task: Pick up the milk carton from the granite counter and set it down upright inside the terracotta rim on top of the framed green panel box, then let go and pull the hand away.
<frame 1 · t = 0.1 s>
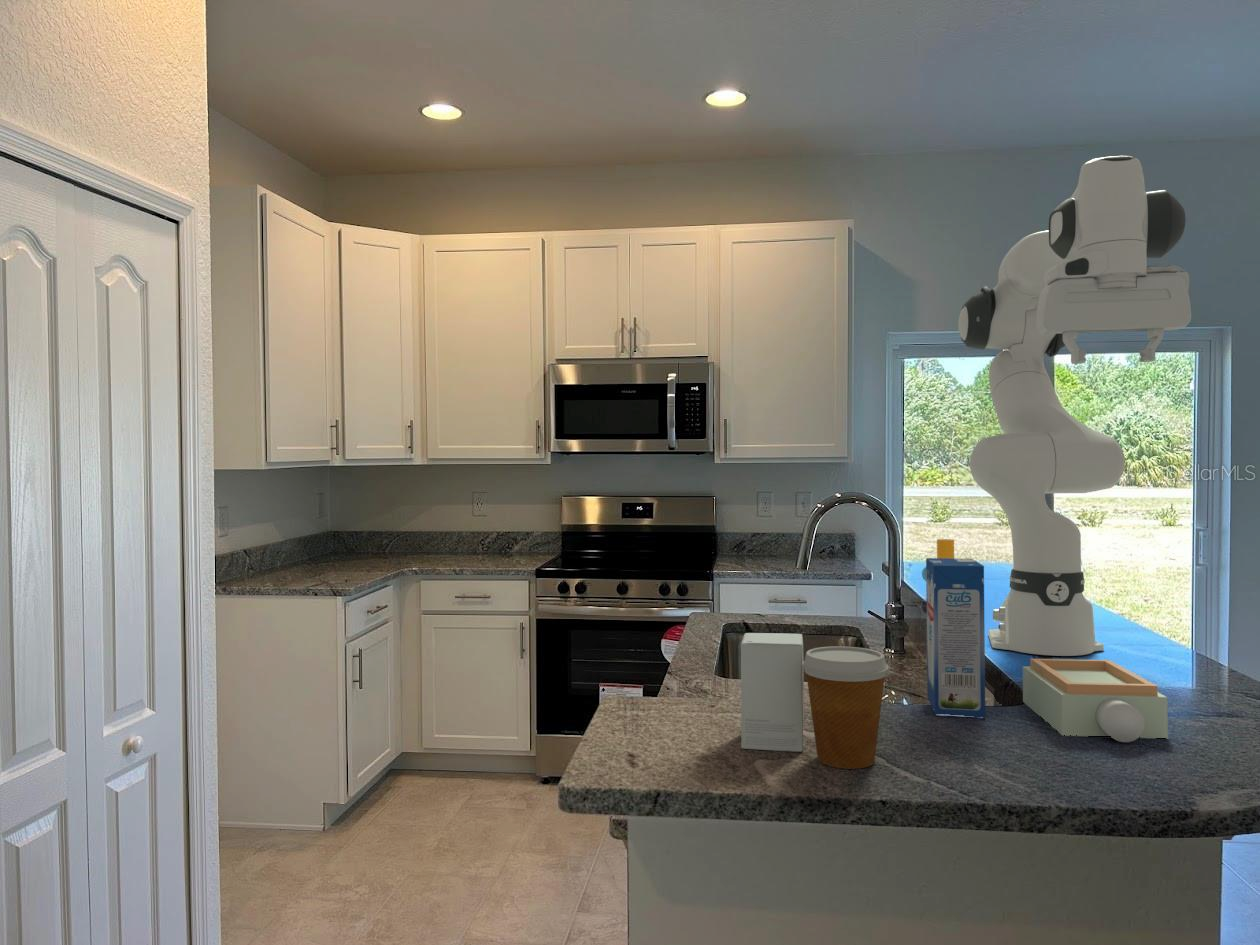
hand: (1112, 362, 129), 48 cm above the countertop, fingers open, 8 cm apart
milk carton: (955, 709, 122), on the countertop
framed green panel box: (1089, 718, 116), on the countertop
supplement box: (773, 743, 107), on the countertop
disposable coffee cup: (845, 761, 100), on the countertop
cylinder: (946, 600, 221), on the countertop
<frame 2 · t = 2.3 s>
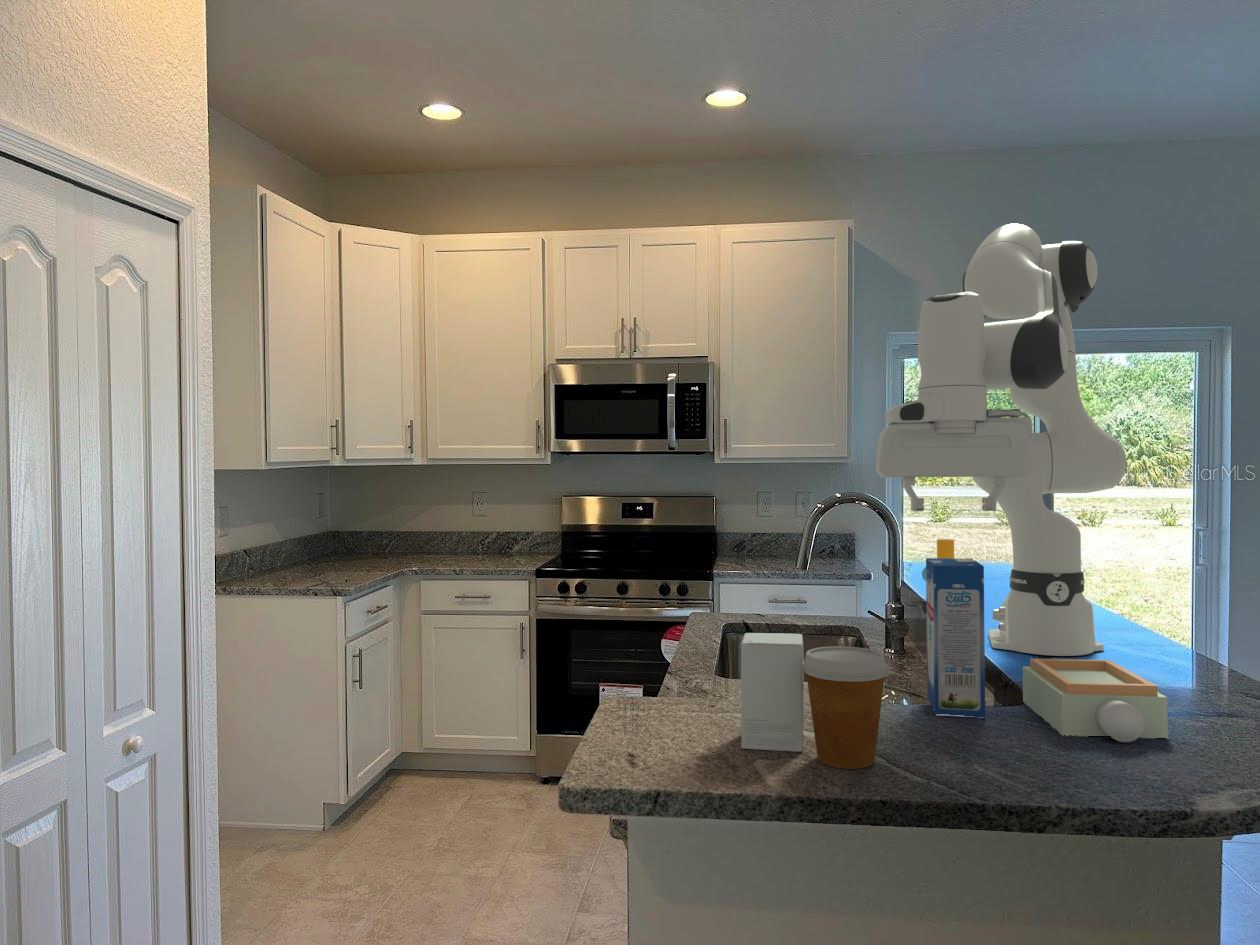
hand: (953, 510, 122), 27 cm above the countertop, fingers open, 8 cm apart
nothing on the countertop moved.
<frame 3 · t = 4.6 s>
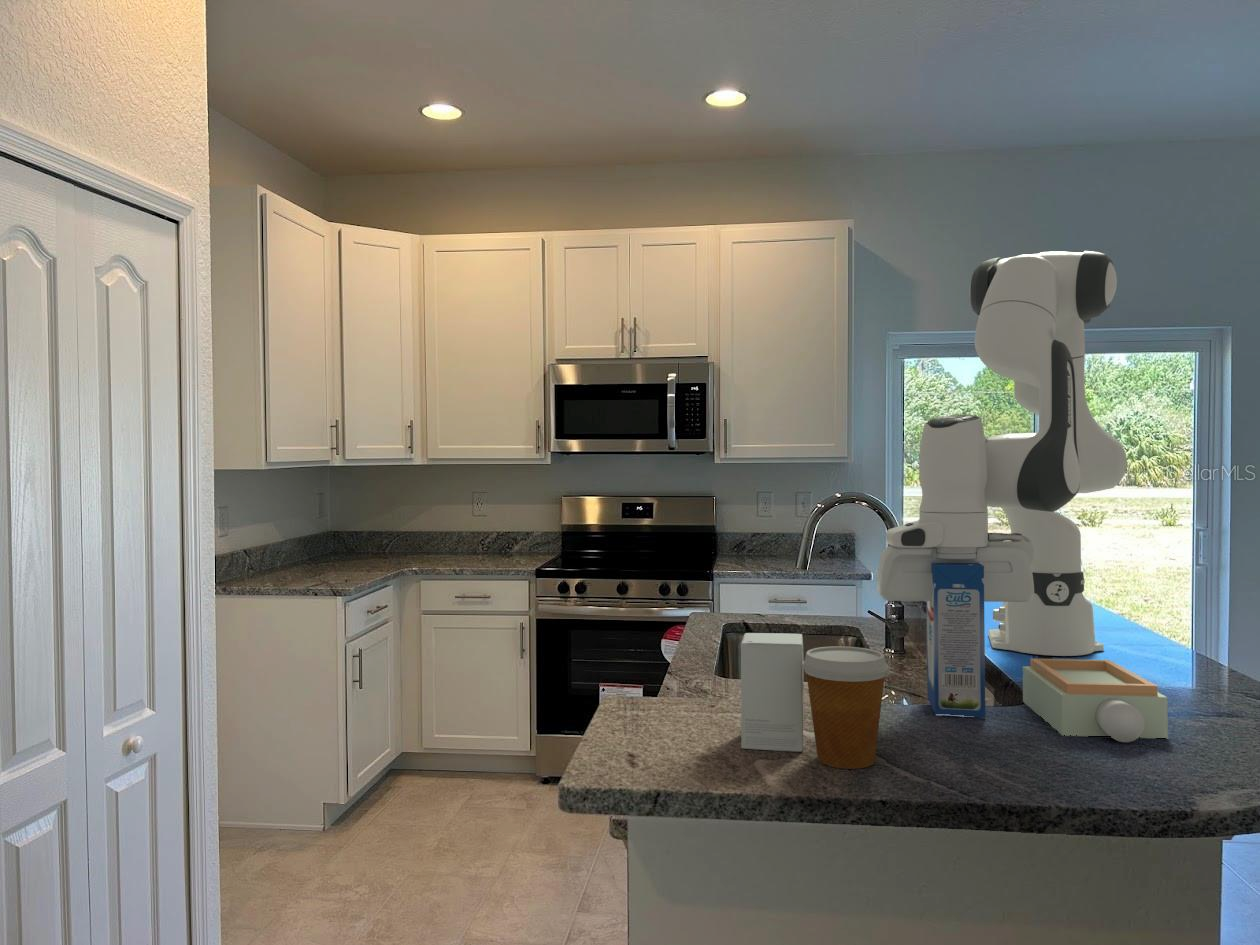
hand: (954, 633, 122), 10 cm above the countertop, fingers closed on milk carton
milk carton: (955, 709, 122), on the countertop, touching gripper
everything else where it was.
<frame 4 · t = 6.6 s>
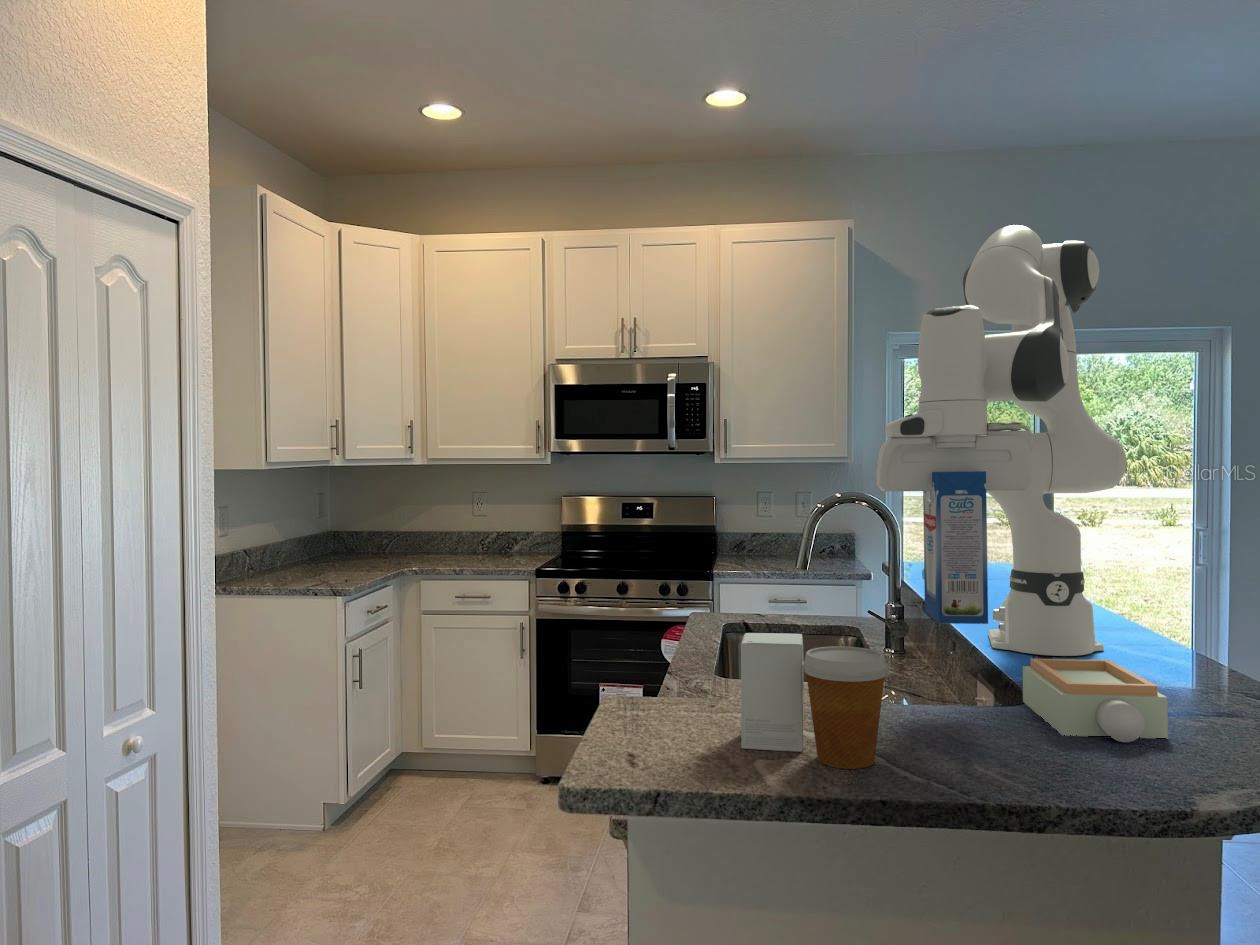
hand: (953, 524, 122), 25 cm above the countertop, fingers closed on milk carton
milk carton: (955, 618, 122), point 12 cm above the countertop, touching gripper
everything else where it was.
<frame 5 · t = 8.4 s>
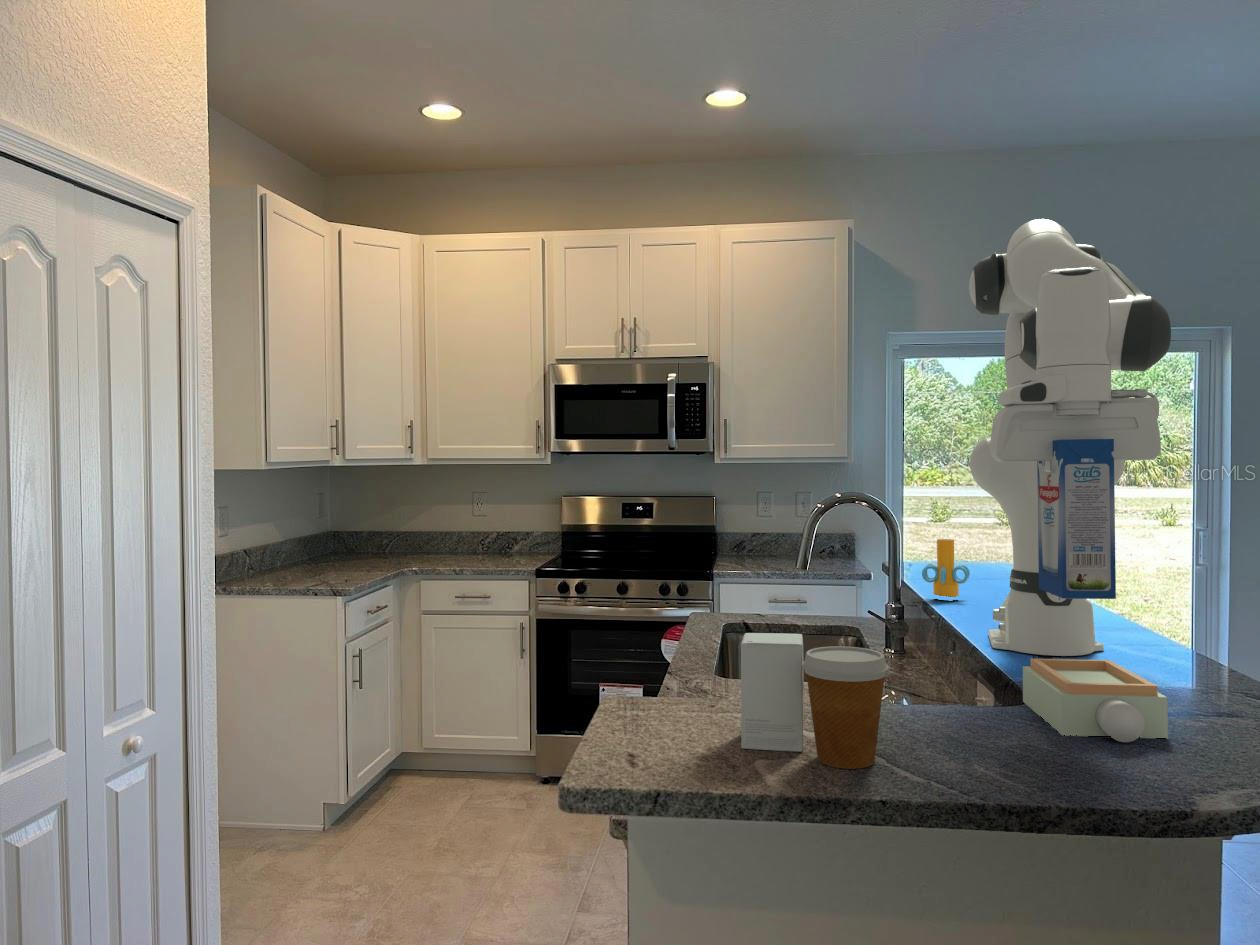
hand: (1073, 496, 116), 29 cm above the countertop, fingers closed on milk carton
milk carton: (1075, 595, 116), point 16 cm above the countertop, touching gripper
everything else where it was.
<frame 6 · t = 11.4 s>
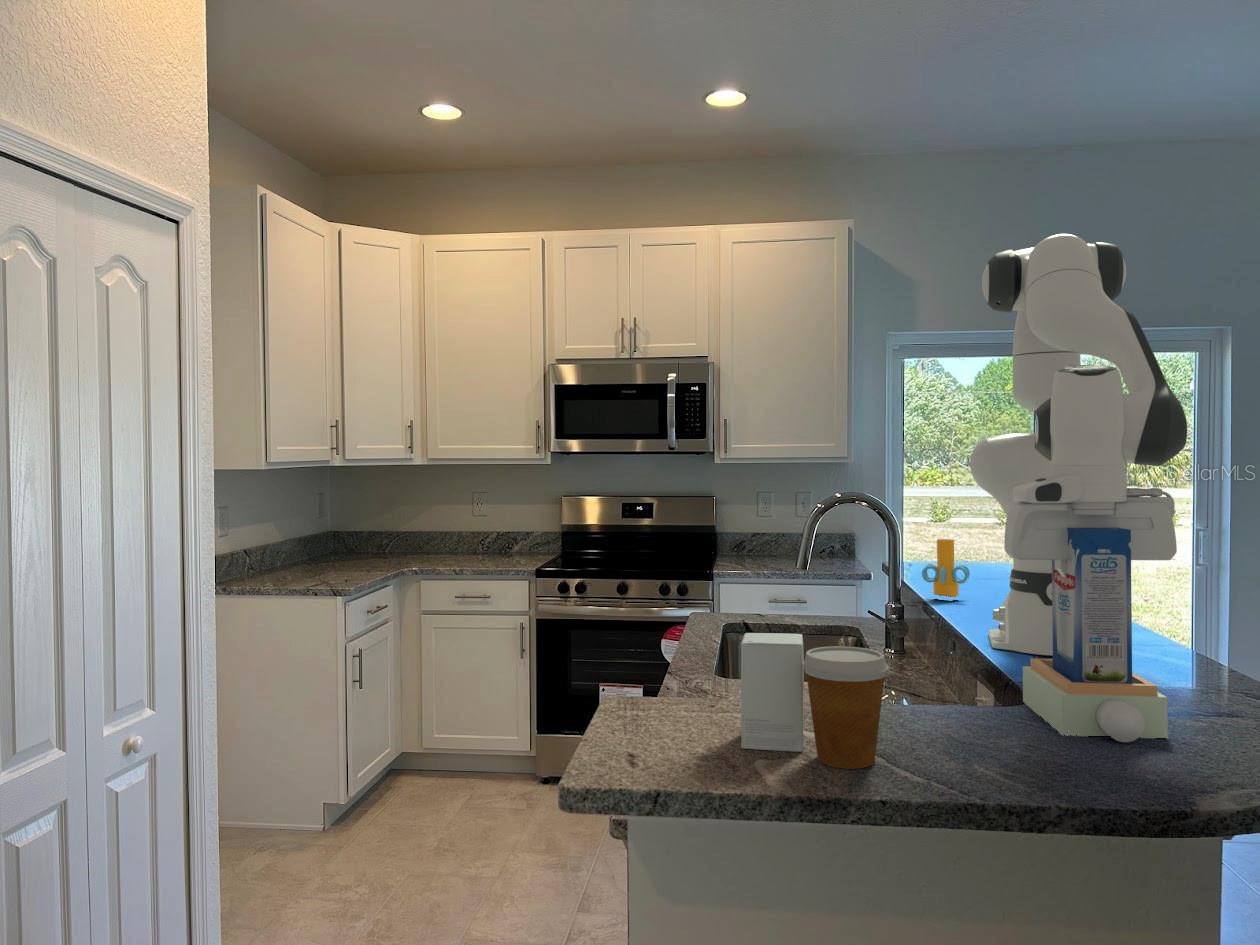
hand: (1089, 594, 116), 16 cm above the countertop, fingers open, 3 cm apart
milk carton: (1090, 682, 115), point 5 cm above the countertop, touching framed green panel box
everything else where it was.
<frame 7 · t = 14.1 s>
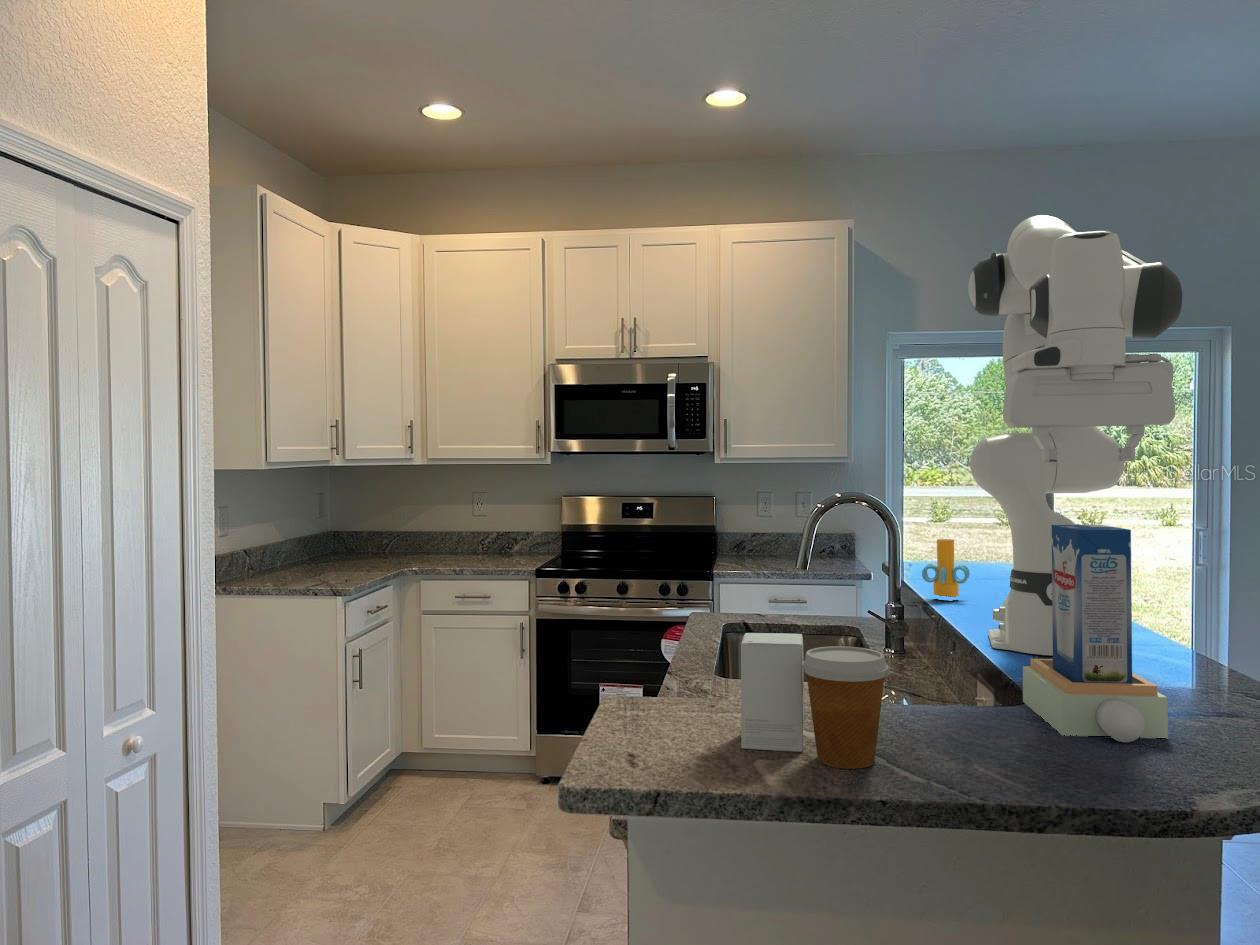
hand: (1087, 461, 116), 33 cm above the countertop, fingers open, 8 cm apart
nothing on the countertop moved.
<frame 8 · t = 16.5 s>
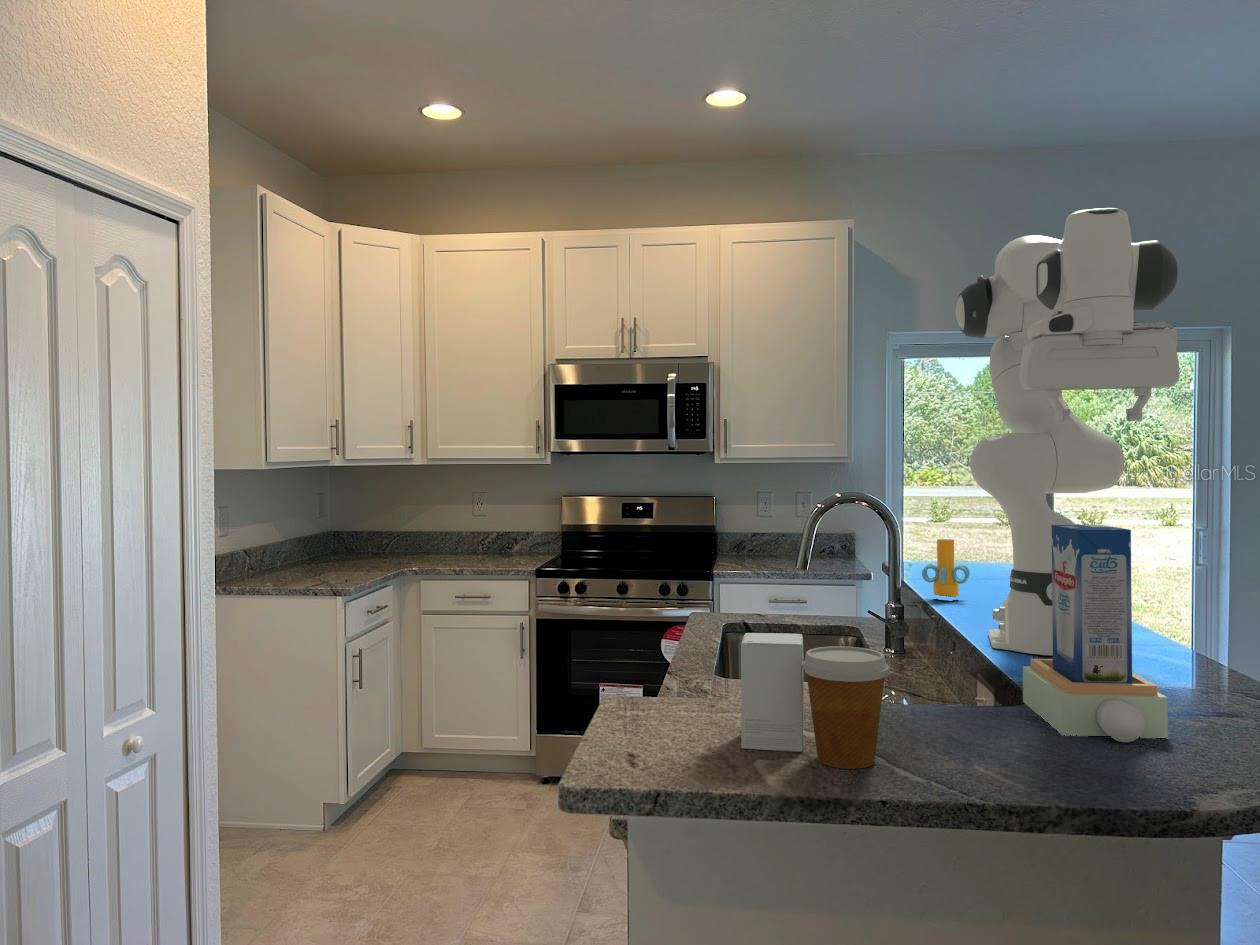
hand: (1098, 421, 125), 39 cm above the countertop, fingers open, 8 cm apart
nothing on the countertop moved.
at the end: milk carton 0.4 cm off-centre on the framed green panel box, point 4.8 cm above the framed green panel box's base; milk carton tilted 0°; the gripper is holding nothing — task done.
